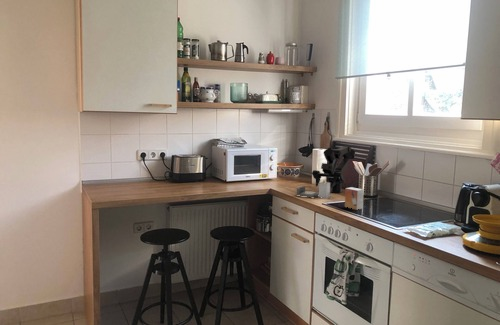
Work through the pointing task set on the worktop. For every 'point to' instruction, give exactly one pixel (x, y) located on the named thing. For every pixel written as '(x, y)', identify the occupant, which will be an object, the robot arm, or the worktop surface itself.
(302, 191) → the press bed
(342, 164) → the robot arm
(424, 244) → the worktop surface
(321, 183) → the housing
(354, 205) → the small box
